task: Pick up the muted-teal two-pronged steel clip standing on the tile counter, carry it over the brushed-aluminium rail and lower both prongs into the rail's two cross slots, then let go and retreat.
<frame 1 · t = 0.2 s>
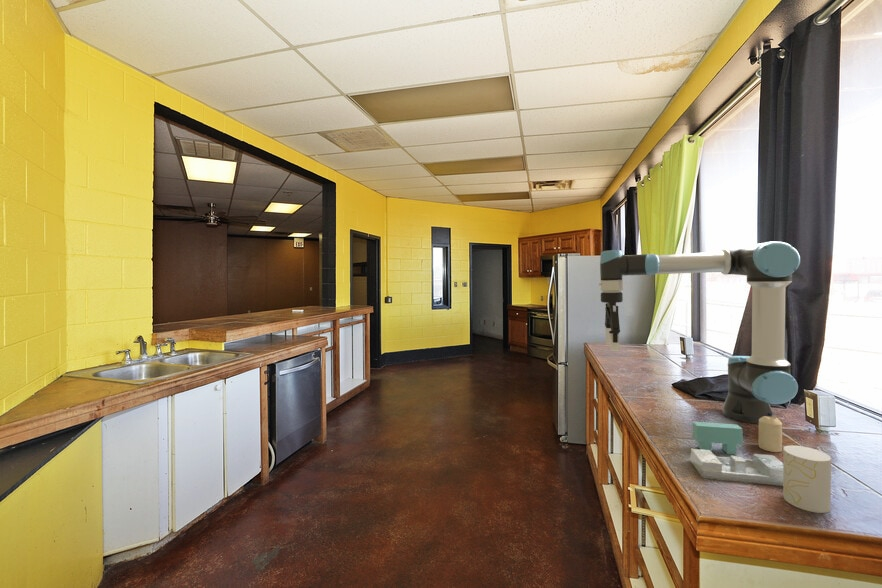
hand: (612, 347, 144), 28 cm above the countertop, fingers open, 13 cm apart
clip: (716, 450, 118), on the countertop
candle: (770, 449, 119), on the countertop
rail: (738, 472, 105), on the countertop
cup: (806, 503, 91), on the countertop
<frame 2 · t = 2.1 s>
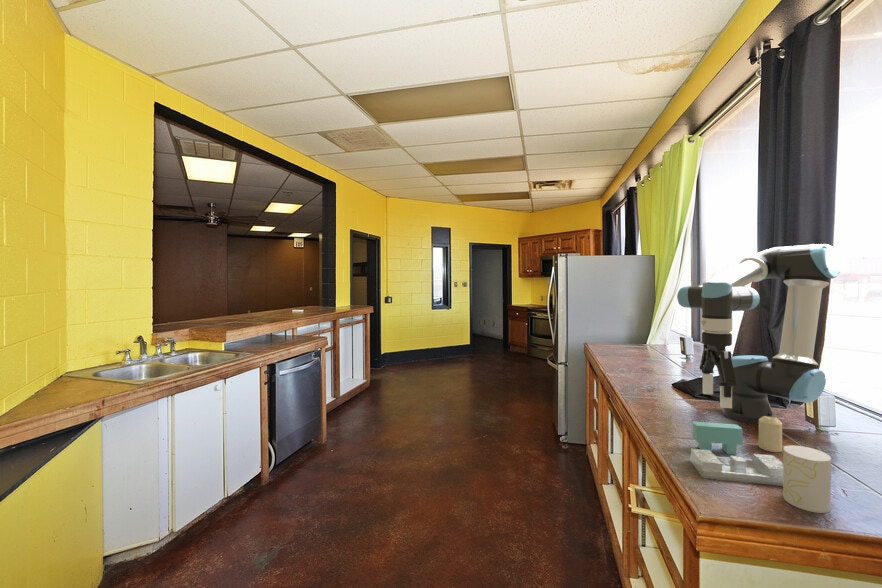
hand: (716, 400, 118), 16 cm above the countertop, fingers open, 13 cm apart
nothing on the countertop moved.
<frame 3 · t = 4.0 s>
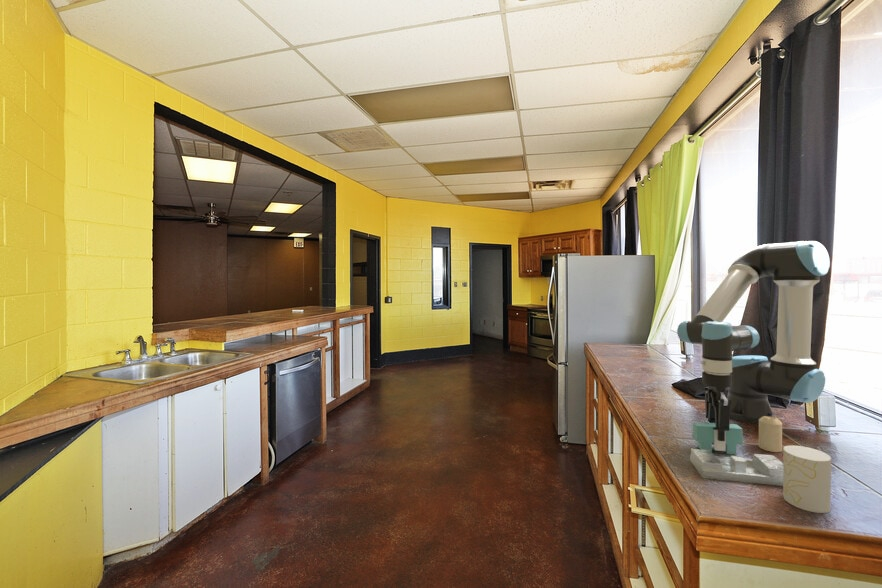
hand: (716, 447, 118), 1 cm above the countertop, fingers closed on clip, 3 cm apart
clip: (716, 450, 118), on the countertop, touching gripper
everything else where it was.
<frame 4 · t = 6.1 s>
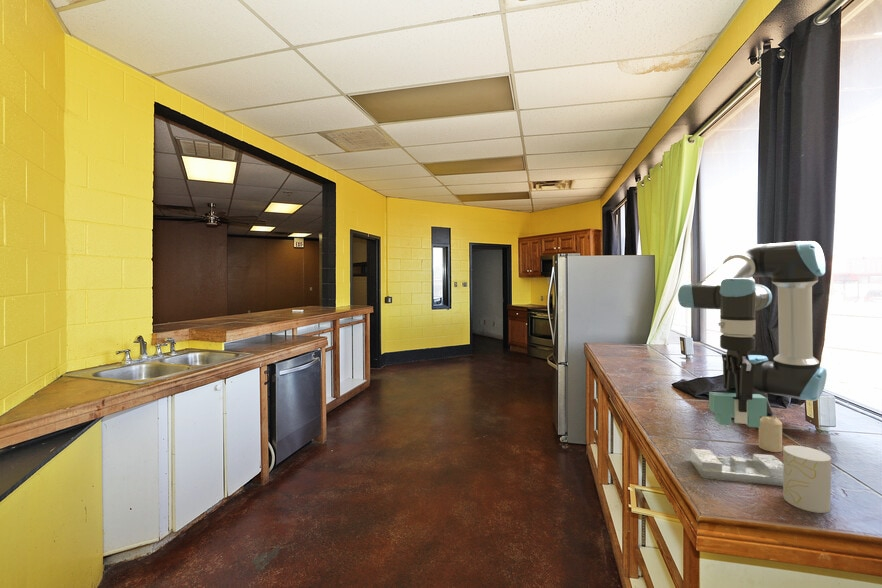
hand: (737, 419, 104), 15 cm above the countertop, fingers closed on clip, 3 cm apart
clip: (736, 423, 104), point 14 cm above the countertop, touching gripper
everything else where it was.
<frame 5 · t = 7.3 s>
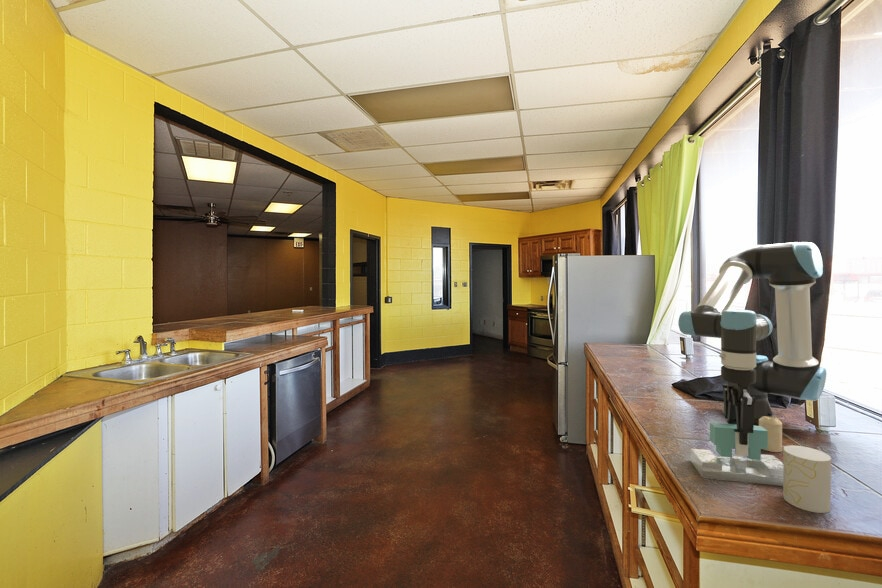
hand: (737, 451, 105), 6 cm above the countertop, fingers closed on clip, 3 cm apart
clip: (737, 455, 105), point 5 cm above the countertop, touching gripper
everything else where it was.
when the fingers open (3 cm above the countertop, at t = 8.0 s): clip stays where it is, resting on rail.
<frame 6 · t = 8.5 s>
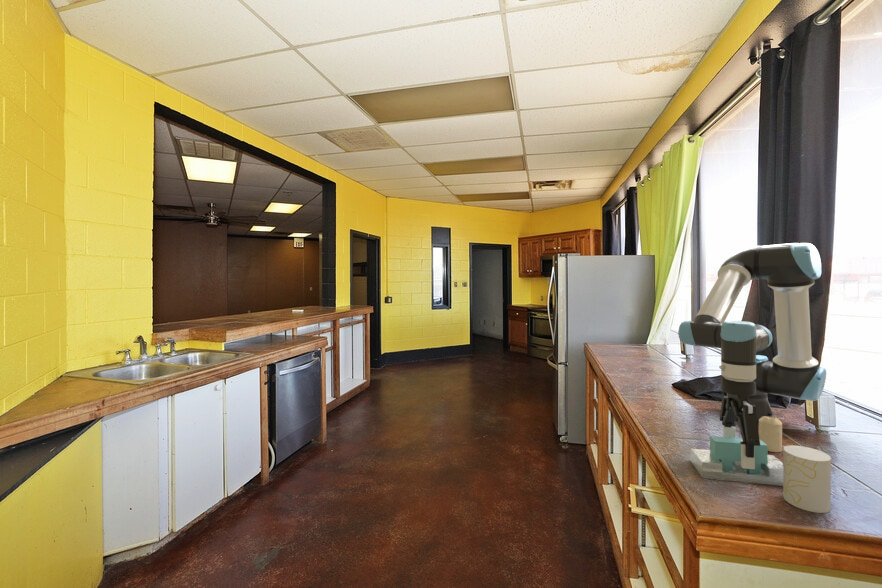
hand: (738, 458, 105), 4 cm above the countertop, fingers open, 10 cm apart
clip: (737, 469, 105), point 1 cm above the countertop, touching rail
everything else where it was.
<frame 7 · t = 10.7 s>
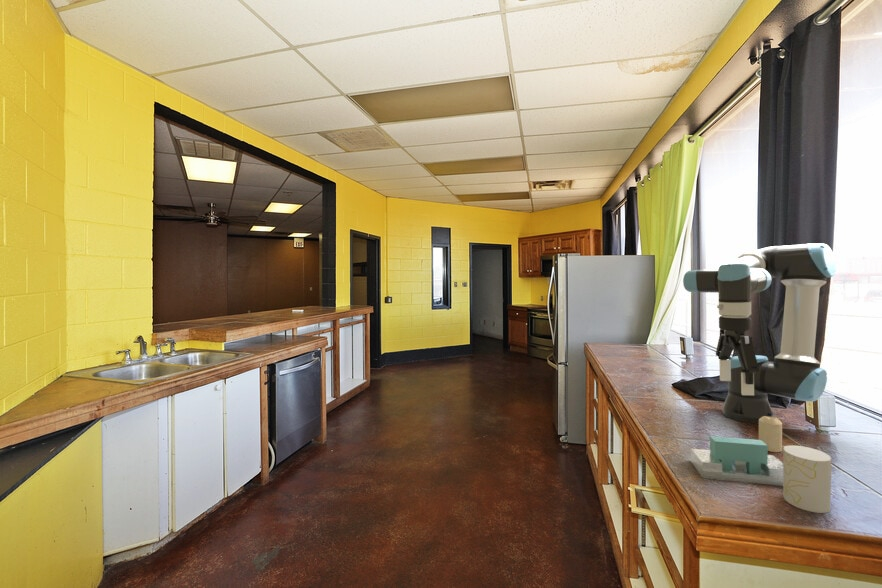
hand: (735, 387, 113), 21 cm above the countertop, fingers open, 13 cm apart
nothing on the countertop moved.
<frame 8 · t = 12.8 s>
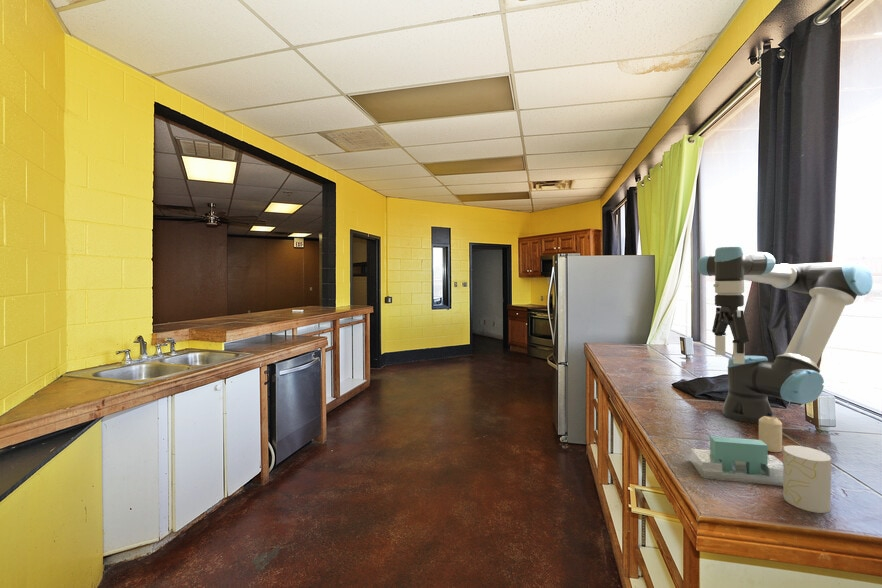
hand: (729, 359, 125), 27 cm above the countertop, fingers open, 13 cm apart
nothing on the countertop moved.
at the end: clip 0.0 cm off-centre on the rail, point 1.0 cm above the rail's base; clip tilted 0°; the gripper is holding nothing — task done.
